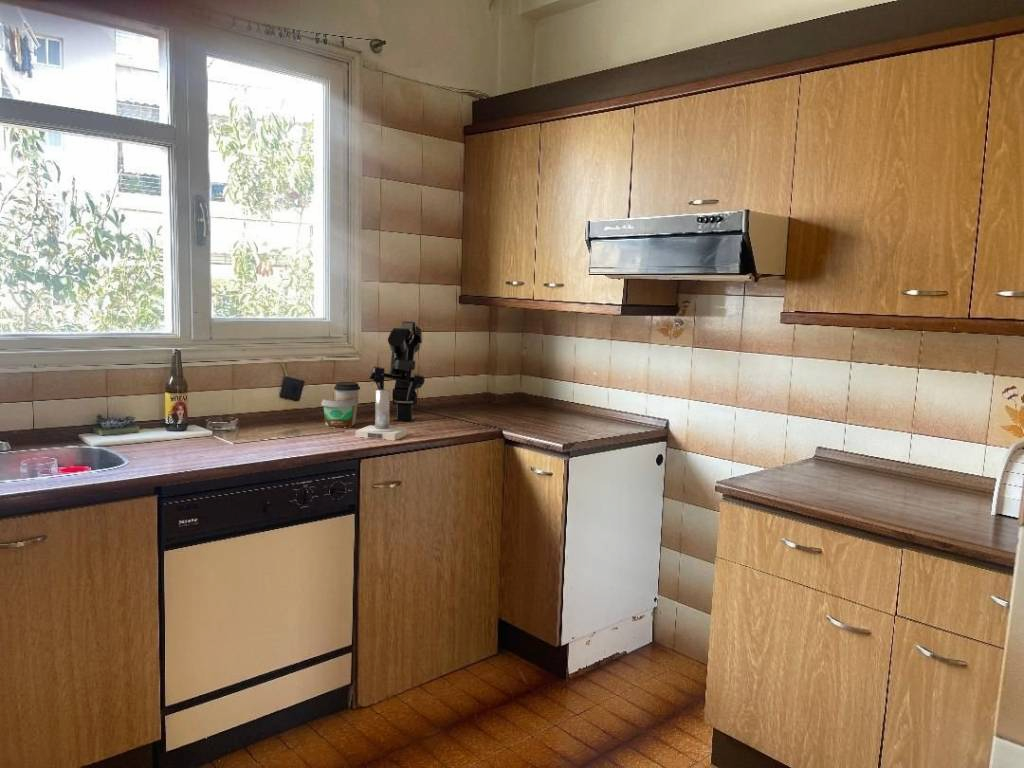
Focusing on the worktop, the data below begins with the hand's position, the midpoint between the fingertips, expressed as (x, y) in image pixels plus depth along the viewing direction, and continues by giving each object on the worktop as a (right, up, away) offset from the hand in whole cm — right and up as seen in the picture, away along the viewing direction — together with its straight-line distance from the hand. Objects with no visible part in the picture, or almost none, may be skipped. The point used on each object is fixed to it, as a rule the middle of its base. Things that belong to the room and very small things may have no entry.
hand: (395, 399), depth 262 cm
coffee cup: (-20, -9, +12) cm, 25 cm away
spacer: (-3, -9, -8) cm, 13 cm away
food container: (-21, -10, +4) cm, 23 cm away
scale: (-3, -12, -8) cm, 15 cm away
